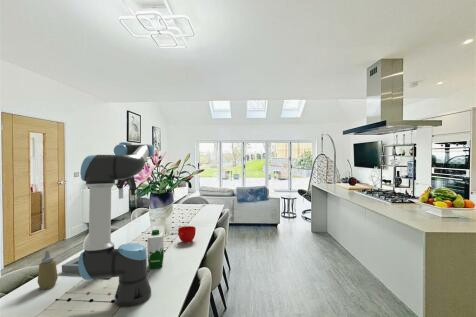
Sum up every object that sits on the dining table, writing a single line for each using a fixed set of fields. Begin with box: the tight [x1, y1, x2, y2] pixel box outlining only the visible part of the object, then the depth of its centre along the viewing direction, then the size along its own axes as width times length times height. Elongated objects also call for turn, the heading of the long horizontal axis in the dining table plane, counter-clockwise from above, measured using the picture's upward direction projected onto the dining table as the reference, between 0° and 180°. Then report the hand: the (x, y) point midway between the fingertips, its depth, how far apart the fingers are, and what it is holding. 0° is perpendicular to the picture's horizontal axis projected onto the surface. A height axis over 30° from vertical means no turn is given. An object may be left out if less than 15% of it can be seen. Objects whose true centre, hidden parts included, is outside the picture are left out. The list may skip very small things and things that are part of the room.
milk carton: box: [147, 229, 165, 270], centre depth 147 cm, size 9×9×20 cm
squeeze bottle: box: [37, 249, 59, 290], centre depth 124 cm, size 8×8×18 cm
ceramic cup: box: [177, 225, 197, 244], centre depth 187 cm, size 13×17×10 cm
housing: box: [61, 256, 80, 274], centre depth 151 cm, size 24×16×4 cm, turn 173°
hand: (126, 199), depth 162 cm, fingers open, 13 cm apart
